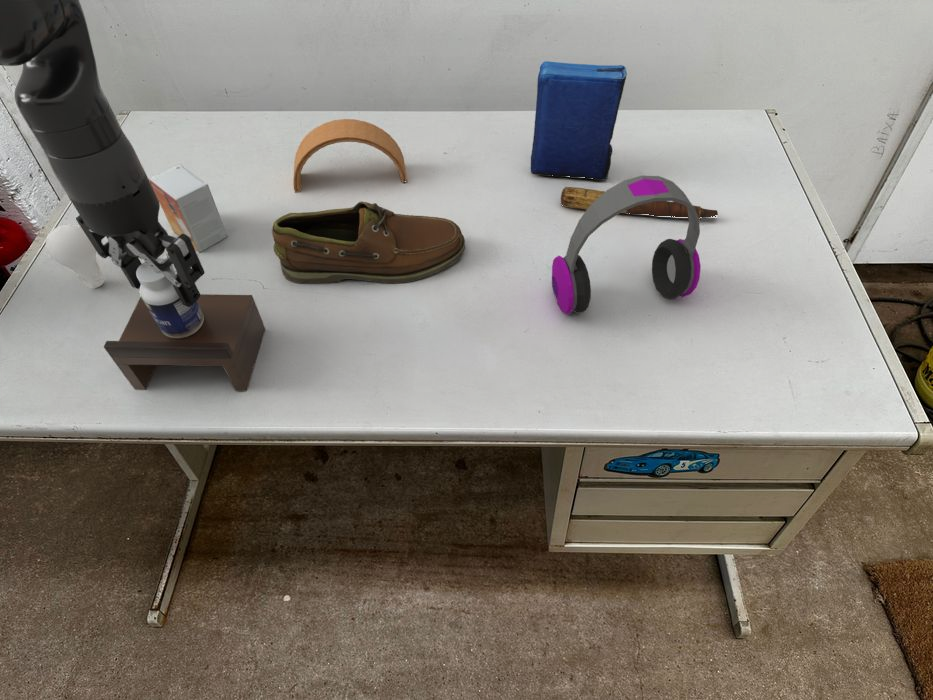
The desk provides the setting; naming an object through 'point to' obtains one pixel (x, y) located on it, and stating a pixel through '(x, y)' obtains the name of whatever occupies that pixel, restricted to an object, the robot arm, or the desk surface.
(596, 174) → the book
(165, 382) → the desk surface
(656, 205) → the hand tool
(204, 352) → the shelf
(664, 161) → the desk surface
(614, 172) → the desk surface
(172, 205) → the small box
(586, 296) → the headphones
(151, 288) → the pill bottle
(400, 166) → the arch
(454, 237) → the boat shoe
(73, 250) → the lightbulb
